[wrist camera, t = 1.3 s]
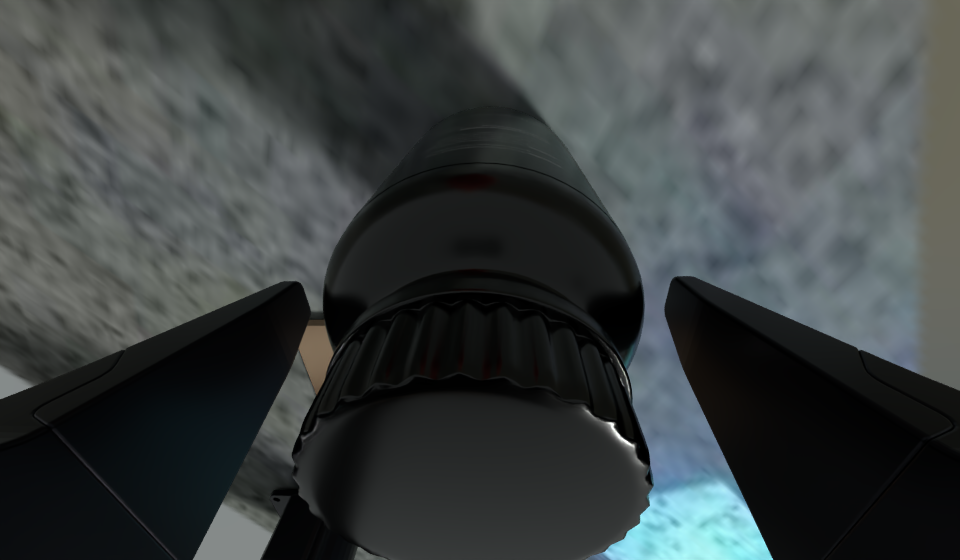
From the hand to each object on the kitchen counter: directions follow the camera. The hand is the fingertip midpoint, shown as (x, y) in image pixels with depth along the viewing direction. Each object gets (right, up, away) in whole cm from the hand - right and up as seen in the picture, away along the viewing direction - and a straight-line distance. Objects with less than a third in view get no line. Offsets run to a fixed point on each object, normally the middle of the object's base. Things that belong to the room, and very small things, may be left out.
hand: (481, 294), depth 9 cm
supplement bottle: (0, +4, +6) cm, 7 cm away
